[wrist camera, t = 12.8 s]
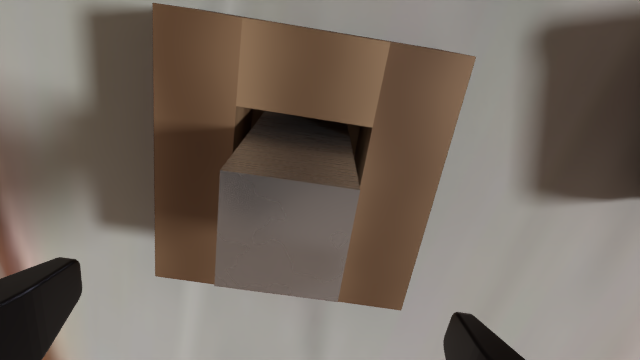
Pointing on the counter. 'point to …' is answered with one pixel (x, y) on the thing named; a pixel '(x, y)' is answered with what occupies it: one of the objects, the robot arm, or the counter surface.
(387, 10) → the counter surface
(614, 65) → the counter surface
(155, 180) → the socket block
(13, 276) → the robot arm
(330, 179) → the steel block
